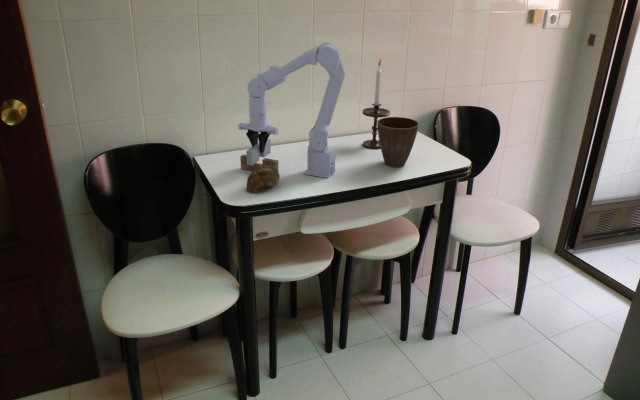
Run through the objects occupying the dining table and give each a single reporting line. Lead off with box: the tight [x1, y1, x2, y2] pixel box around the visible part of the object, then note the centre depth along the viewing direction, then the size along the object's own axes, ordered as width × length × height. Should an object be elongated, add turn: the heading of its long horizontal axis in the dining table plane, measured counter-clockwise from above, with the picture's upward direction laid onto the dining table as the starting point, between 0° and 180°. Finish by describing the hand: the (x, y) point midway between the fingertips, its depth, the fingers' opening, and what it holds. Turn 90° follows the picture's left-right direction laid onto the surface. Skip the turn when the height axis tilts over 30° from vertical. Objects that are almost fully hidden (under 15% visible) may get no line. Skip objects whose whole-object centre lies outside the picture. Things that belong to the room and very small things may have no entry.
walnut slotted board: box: [239, 154, 280, 174], centre depth 181 cm, size 14×2×5 cm, turn 68°
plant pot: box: [377, 116, 420, 168], centre depth 189 cm, size 15×15×16 cm
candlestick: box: [362, 59, 391, 150], centre depth 203 cm, size 11×11×35 cm
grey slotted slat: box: [245, 138, 272, 166], centre depth 179 cm, size 14×2×5 cm, turn 158°
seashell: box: [245, 166, 280, 193], centre depth 167 cm, size 11×9×8 cm
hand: (258, 151), depth 179 cm, fingers closed on grey slotted slat, 2 cm apart
